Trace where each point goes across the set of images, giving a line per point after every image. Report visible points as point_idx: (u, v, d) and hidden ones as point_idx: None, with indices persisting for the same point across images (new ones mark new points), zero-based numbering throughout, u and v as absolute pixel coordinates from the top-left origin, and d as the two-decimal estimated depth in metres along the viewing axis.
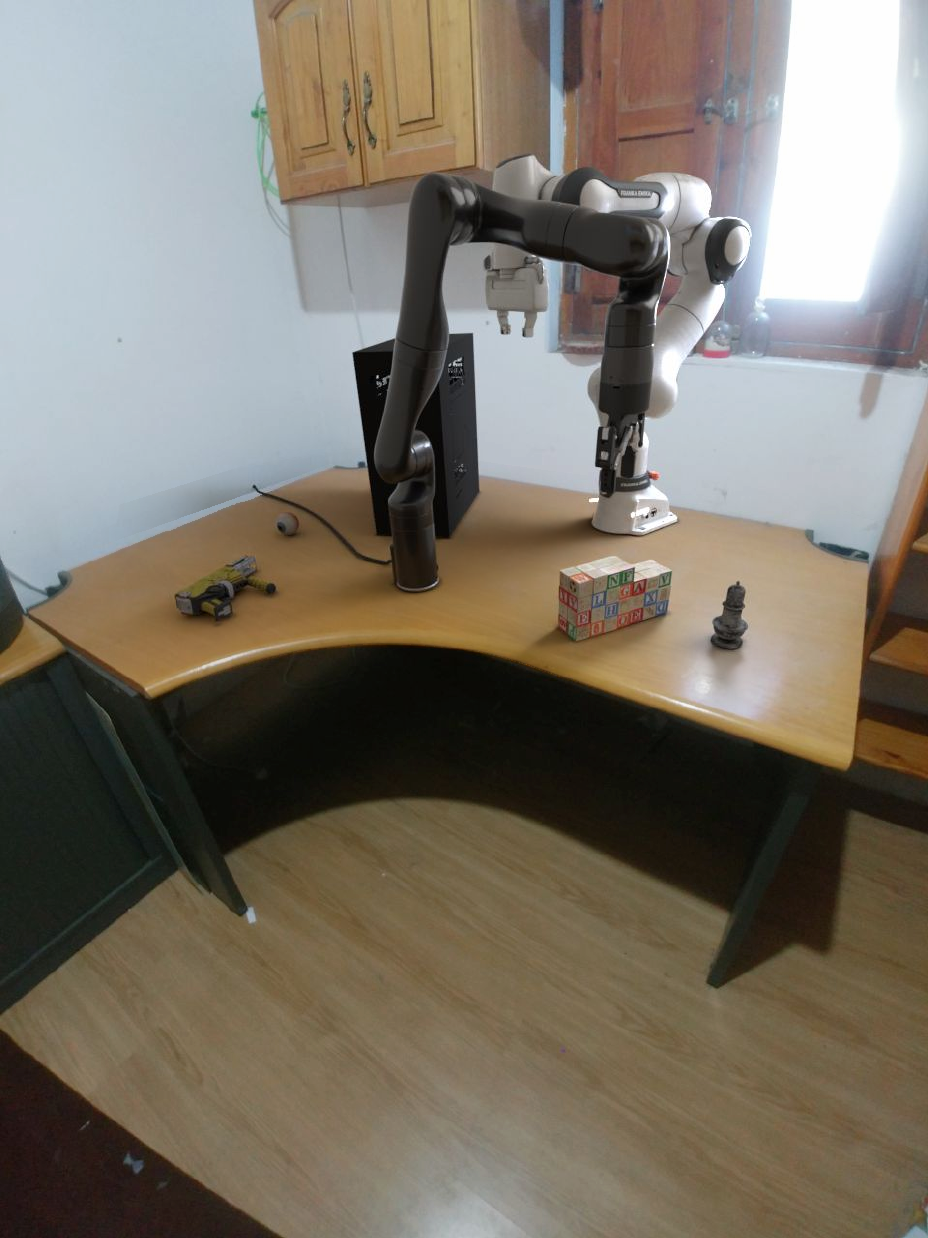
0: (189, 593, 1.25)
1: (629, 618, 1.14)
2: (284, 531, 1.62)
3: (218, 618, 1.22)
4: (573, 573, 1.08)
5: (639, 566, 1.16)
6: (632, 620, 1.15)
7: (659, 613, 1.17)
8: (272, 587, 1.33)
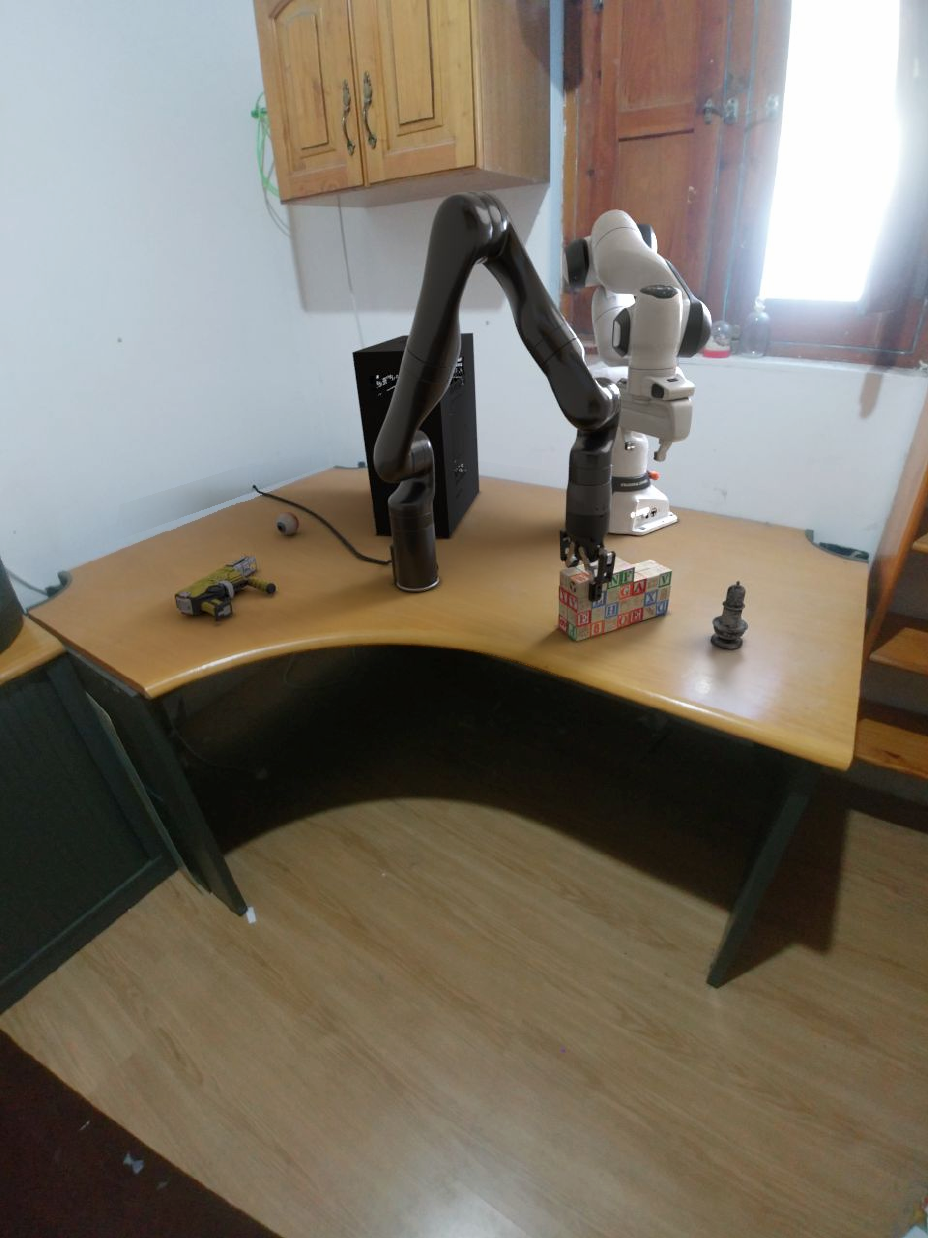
0: (189, 593, 1.25)
1: (629, 618, 1.14)
2: (284, 531, 1.62)
3: (218, 618, 1.22)
4: (573, 573, 1.08)
5: (639, 566, 1.16)
6: (632, 620, 1.15)
7: (659, 613, 1.17)
8: (272, 587, 1.33)
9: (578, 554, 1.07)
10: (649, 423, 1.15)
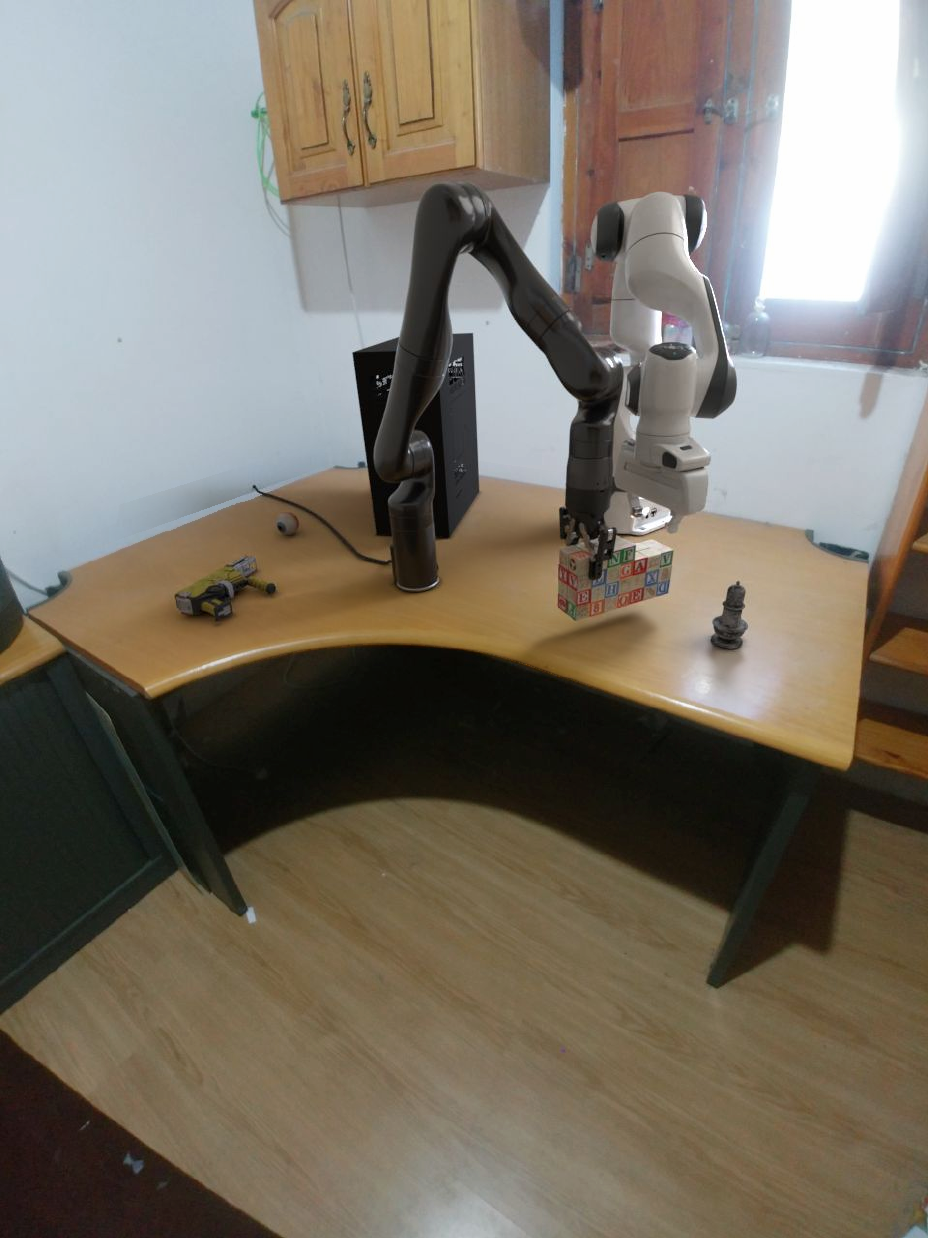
0: (189, 593, 1.25)
1: (630, 598, 1.12)
2: (284, 531, 1.62)
3: (218, 618, 1.22)
4: (573, 551, 1.06)
5: (640, 546, 1.14)
6: (633, 600, 1.13)
7: (660, 594, 1.15)
8: (272, 587, 1.33)
9: (578, 531, 1.05)
10: (659, 492, 1.04)
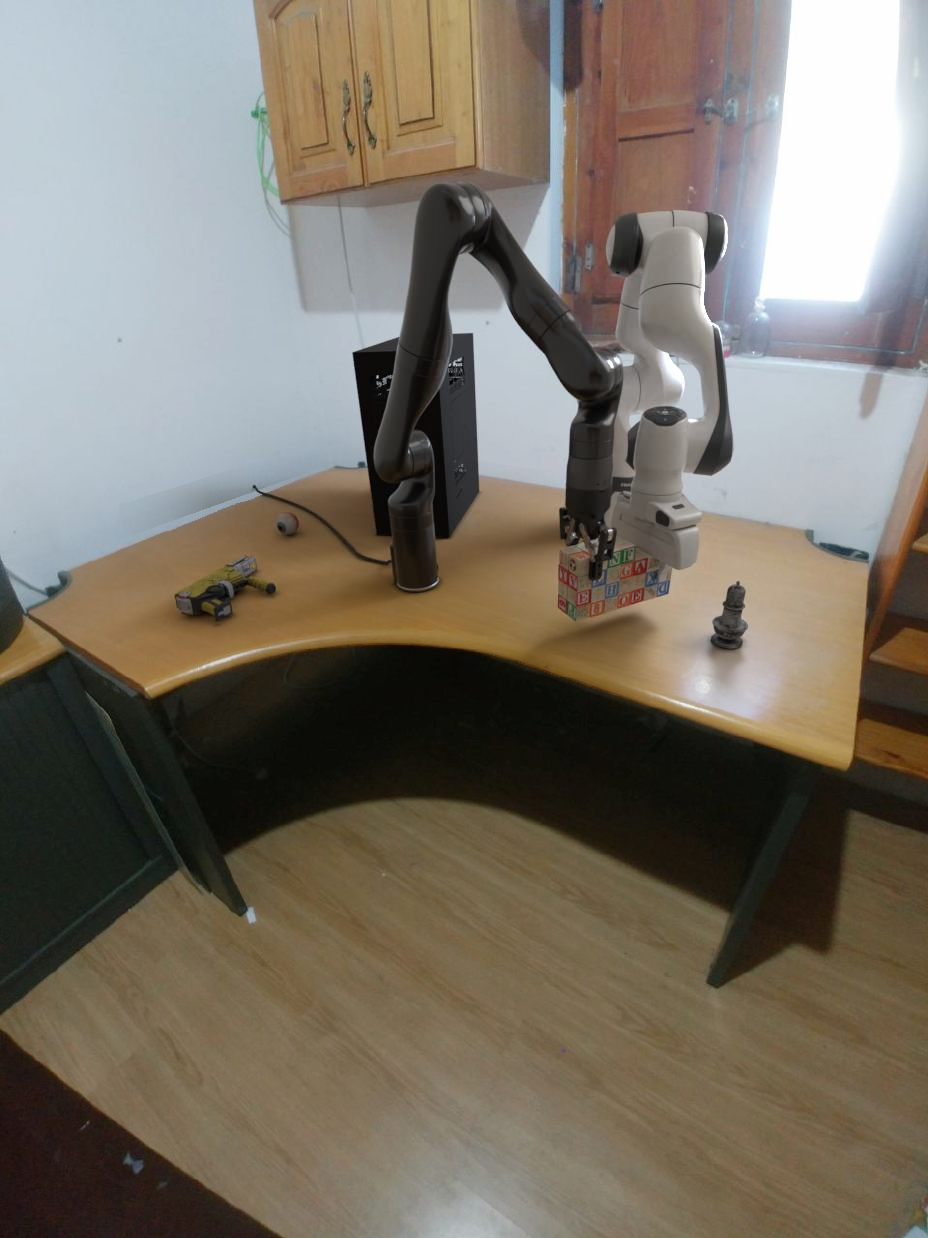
0: (189, 593, 1.25)
1: (630, 598, 1.12)
2: (284, 531, 1.62)
3: (218, 618, 1.22)
4: (573, 551, 1.06)
5: None
6: (633, 601, 1.13)
7: (660, 594, 1.15)
8: (272, 587, 1.33)
9: (578, 532, 1.04)
10: (653, 545, 1.09)
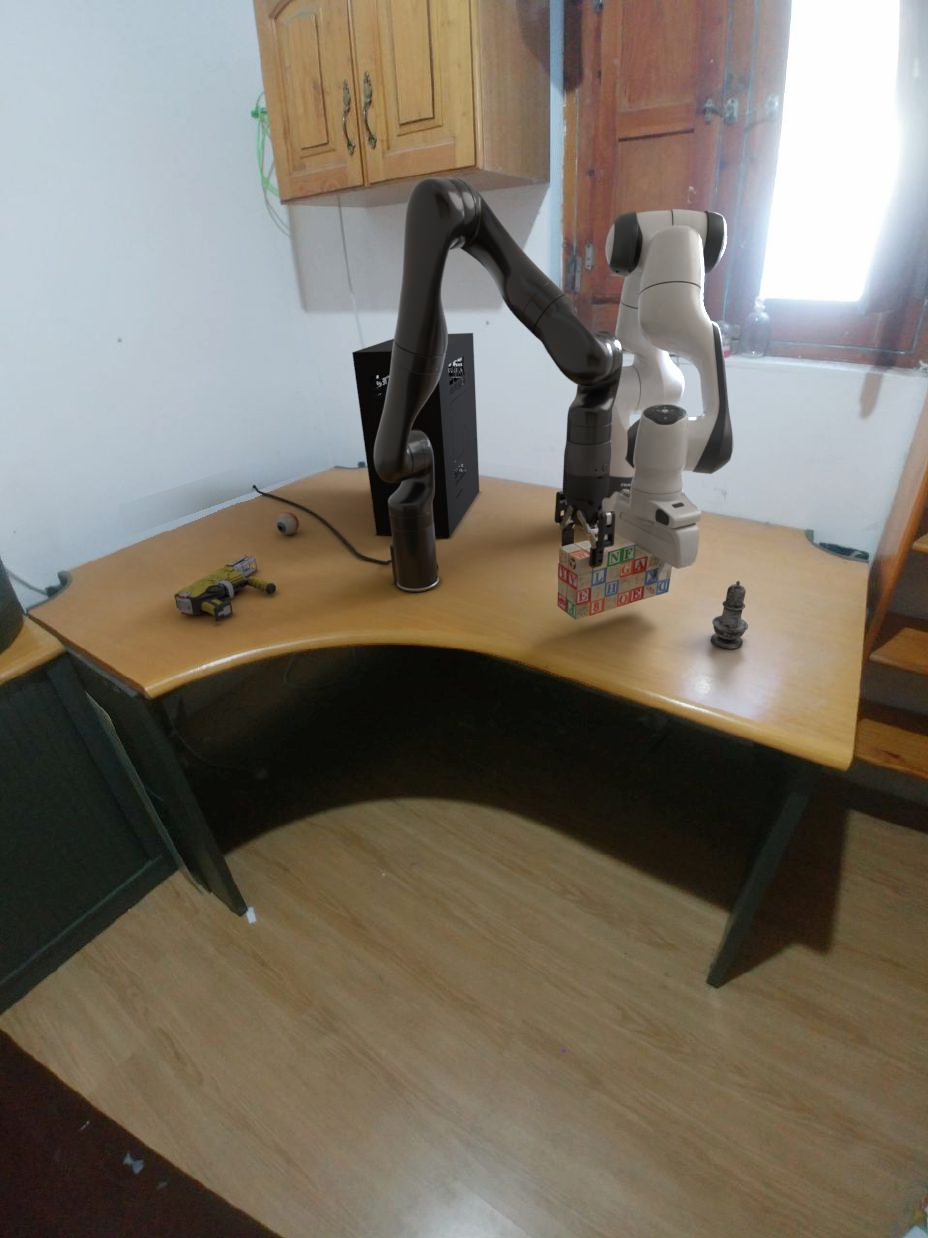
0: (189, 593, 1.25)
1: (630, 596, 1.12)
2: (284, 531, 1.62)
3: (218, 618, 1.22)
4: (573, 549, 1.06)
5: None
6: (633, 599, 1.13)
7: (660, 592, 1.15)
8: (272, 587, 1.33)
9: (576, 519, 1.03)
10: (652, 544, 1.09)
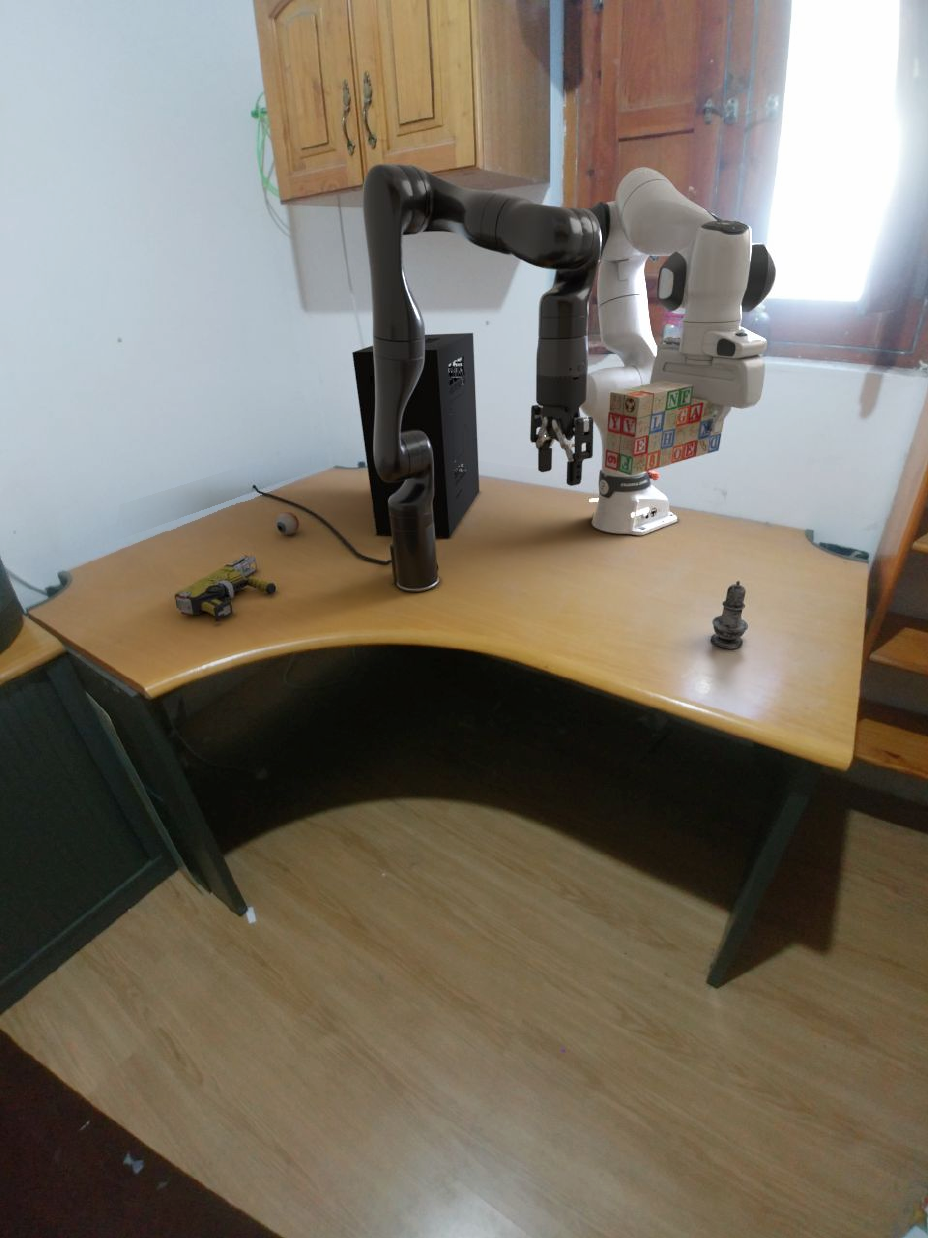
0: (189, 593, 1.25)
1: (684, 452, 1.01)
2: (284, 531, 1.62)
3: (218, 618, 1.22)
4: (628, 392, 0.94)
5: None
6: (686, 455, 1.02)
7: (711, 450, 1.05)
8: (272, 587, 1.33)
9: (551, 432, 0.94)
10: (708, 388, 0.98)
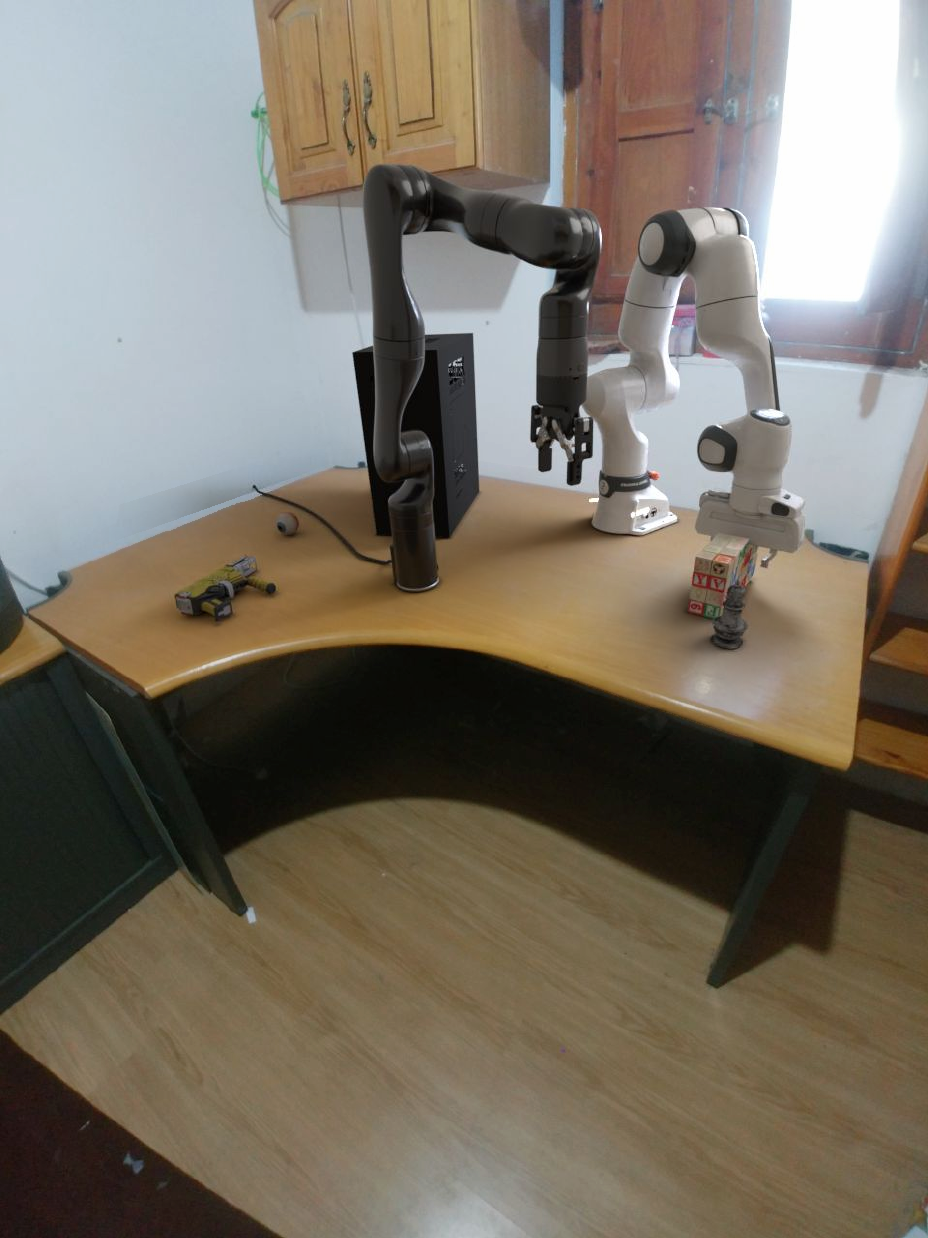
0: (189, 593, 1.25)
1: None
2: (284, 531, 1.62)
3: (218, 618, 1.22)
4: (711, 556, 1.11)
5: None
6: None
7: (750, 577, 1.27)
8: (272, 587, 1.33)
9: (551, 432, 0.94)
10: (758, 535, 1.19)
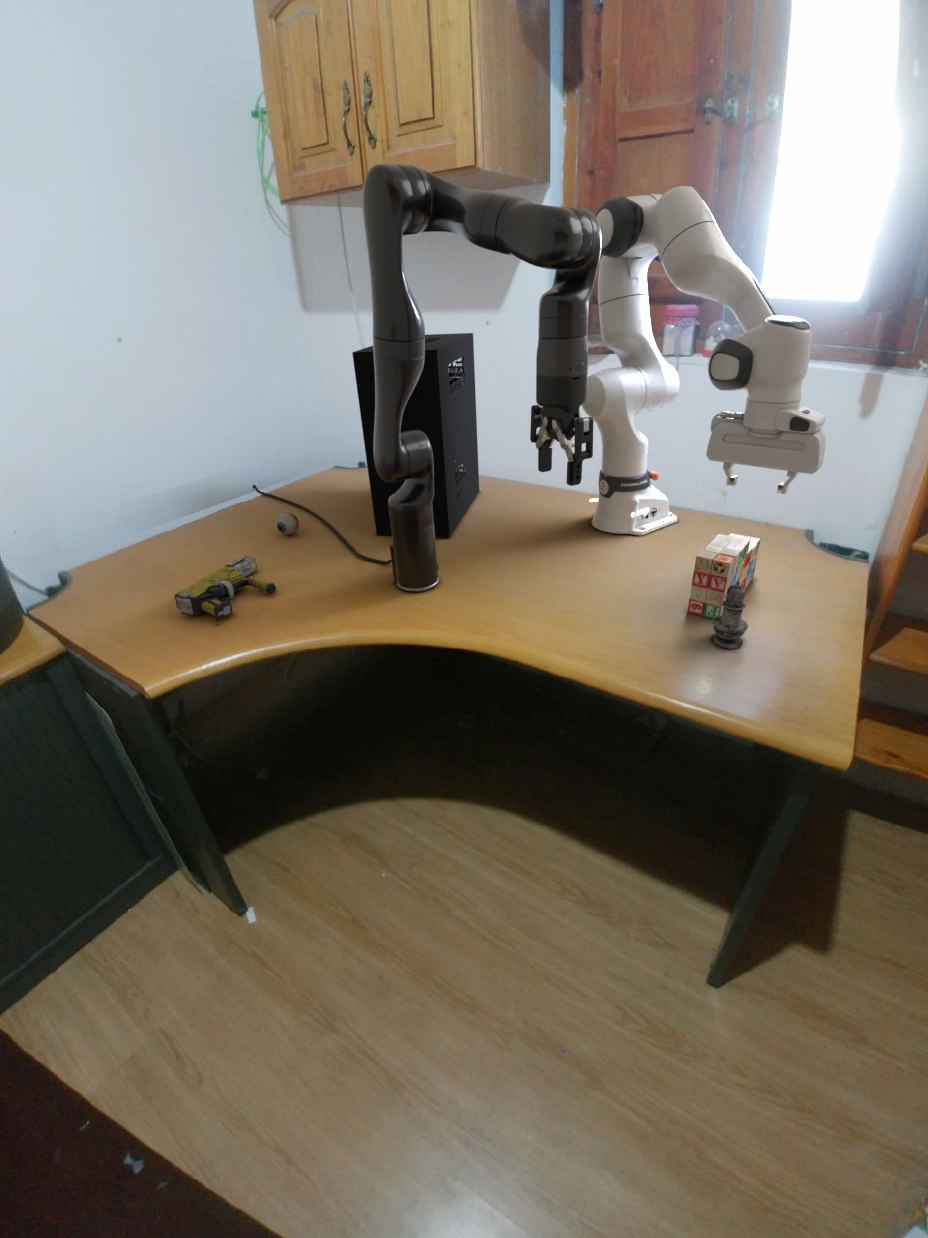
0: (189, 593, 1.25)
1: None
2: (284, 531, 1.62)
3: (218, 618, 1.22)
4: (711, 555, 1.12)
5: None
6: None
7: (750, 580, 1.27)
8: (272, 587, 1.33)
9: (551, 432, 0.94)
10: (775, 456, 1.11)
